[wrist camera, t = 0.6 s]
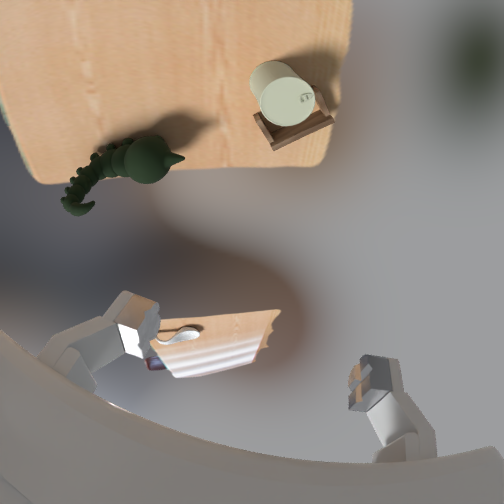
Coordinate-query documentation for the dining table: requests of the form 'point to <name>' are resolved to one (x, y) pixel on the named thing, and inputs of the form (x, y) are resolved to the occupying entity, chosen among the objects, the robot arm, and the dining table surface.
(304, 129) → the holder
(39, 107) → the dining table surface
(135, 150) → the toy figurine
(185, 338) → the spoon rest
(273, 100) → the can
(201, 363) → the dining table surface
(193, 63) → the dining table surface
